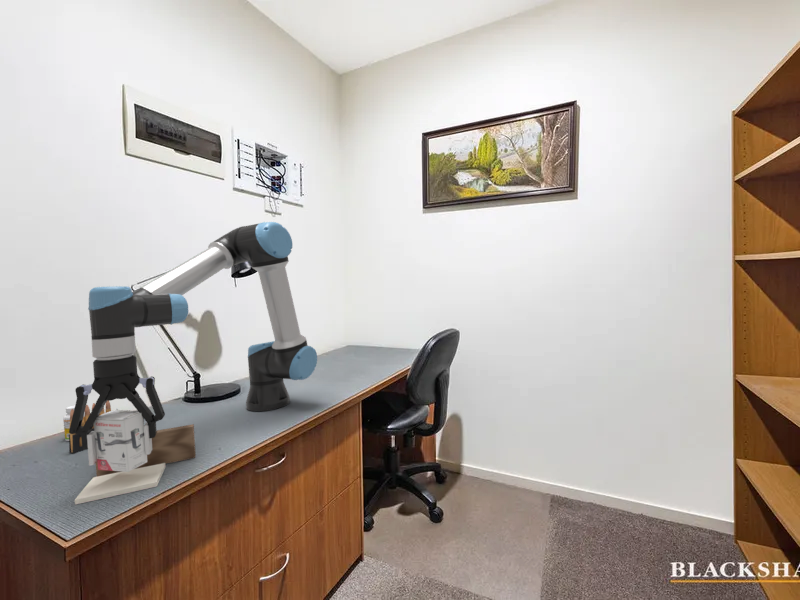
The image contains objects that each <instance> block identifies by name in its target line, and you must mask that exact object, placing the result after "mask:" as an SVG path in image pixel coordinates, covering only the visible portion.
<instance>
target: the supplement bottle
mask: <svg viewBox="0 0 800 600" xmlns="http://www.w3.org/2000/svg"><path fill="white" fill-rule="evenodd" d="M71 409H73V410H74V409H75V404H74V405H70V406H66V407H65V413H66V414H64V415H63V430H64V432H63V433H64V439H65V440H64V441H65V442H69V434H70V433H69V429H70V427H69V425H70V412H71ZM84 420H85V412H84Z"/></svg>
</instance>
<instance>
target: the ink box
mask: <svg viewBox="0 0 800 600" xmlns="http://www.w3.org/2000/svg"><path fill="white" fill-rule="evenodd" d="M144 425H145V419H144V418H143V417H142V415H141V413H139V412H138V410H131V409H130V410H128V409H114V410H111V411H110V412H107V413H106V412H105V413H104V414H102V415H100V416H98V417H97V418H96V420H95V422H94V432H95V443H96V453H97V463H98V470H109V471H123V472H129V471H131V470H133V469H135V468H137V467H139V466H141V465H143V464H145V463H147V455H146V452H145V437H144Z"/></svg>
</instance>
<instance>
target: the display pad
mask: <svg viewBox="0 0 800 600" xmlns="http://www.w3.org/2000/svg"><path fill="white" fill-rule="evenodd" d="M165 470H166V464H165V463H162V464H157V465H152V466H147V467H142V468H137V469H133V470H131V471H129V472H123V471H122V472H117V473H112V474H107V475H103V476H98V477H97V476H93V477H91V478H92V479H91V480H89V482H88V483H87V484H86V486H84V488H83V489H82V490H81V491H80V492H79V494H78V495H77V496H76V498H74V505H75V506H76V505H80V504H83V503H88V502H93V501H98V500H101V499H107V498H111V497H115V496H119V495H124V494H129V493H134V492H138V491H142V490H147V489H151V488H155V487H158V484H159V483H160V481H161V478H162V476H163V474H164V471H165Z"/></svg>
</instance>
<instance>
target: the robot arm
mask: <svg viewBox="0 0 800 600" xmlns="http://www.w3.org/2000/svg"><path fill="white" fill-rule="evenodd" d="M292 249H293V239H292V236H291V234H290V232H289V231H288V229H287V228H286V227H284V226H283V225H282V224H281V223H279V222H275V221H266V222H265V221H263V222H259V223H255V224H250V225H243V226H242V225H241V226H239V227H237V228H234V229H232V230H230V231H228V232H227V233H225V234H224V235H222V236H220V237H219V238H217V239H215V240H214V241H212V242H210V243H209V244H208V246H207V248H206V249H204V250H203V251H201V252H200V253H197V255H194V256H193V257H191V258H189V259H188V260H186V261H184V262H182V263H180V264H179V265H177V266H175V267H173V268H172V269H170V270H169V271H167V272H165V273H163V274H161V275H160V276H158V277H155V278H154V279H153V280H151V281H150V282H148V283H145V284H144V285H143V286H140V287H139V288H138V289H136V290H133V291H132V288H131V287H130V286H123V285H122V286H120V285H119V286H117V285H116V286H114V285H113V286H96V287H93V288H91V289H90V290H89V292H88V309H87V310H88V312H89V323H90V331H91V332H90V333H91V336H90V337H91V353H92V354H91V355H92V358H95V360H94V361H92V366H93V378H94V379H93V382H92V383H91V384H90V383H89V384H81V385H79V386H77V387H76V388H75V391H74V392H75V395H76V401H75V404H74V405H75V409H74V413H73V417H72V421H71V425H70V429H69V433H70V434H80V435H81V439H82V448H83V451H86V450H87V455H88V456H87V457H88V466H90V467H91V466H94V465H96V462H97V453H96V443H95V432H94V431H91V430H92V427H93V425H94V422H95V420H96V418H97V417H98V416H99V414H100V413H101V411H102V409H103V407H104V408H105V406H106V402H107V400H108V401H109V402H110V401H114V400H124V399H126V400H128V402H130V403H131V404H132V406H134V408H135V409H136V411H138V412H139V413H141V415H142V417H143V418H144V422H146V423H144V437H145V452H146V455H149V454H150V453H151V451H152V438H154V437H155V436H156V433H157V422H159V421H162V420H163V419H164V417H165V415H166V413H165V410H164V406H163V405H162V402H161V400H160V397H159V394H158V392H157V390H156V386H155V384H156V383H155V381H156V378H155V377H154V376H149V377H140V376H139V373H138V364H137V363H138V362H137V356H136V355H135V353H136V352H137V348H136V347H137V346H136V336H135V335H136V334H135V333H136V332H135V328H141V327H142V328H143V327H152V326H153V327H154V326H155V327H156V326H164V325H173V324H179V323H183V322H184V321H185V320H186V319H187V317H188V315H189V303H188V301H187V299H186V297H185V296H184V295H185V294H187V293H188V292H190V291H191V290H192V289H195V288H196V287H197V286H199V285H200V284H201V283H203V282H205V281H206V280H208V279H210V278H211V277H212V276H214V275H216V274H217V273H219V272H220V271H223V269H225V270H228V269H231V268H232V267H234V266H236V265H238V264H241V263H246V262H250V264H251V268H252V269H253V270H255V271H257V273H258V277H259V280H260V284H261V288H262V292H263V293H262V294H263V297H264V300H265V304H266V309H267V313H268V317H269V321H270V324H271V326H270V327H271V328H272V334H273V338H274V340H273V341H266V342H262V343H257V344H252V345H250V346H249V347H248V348H247V354H248V355H247V363H248V376H249V389H248V394H247V395H246V396H247V397H246V401H245V408H246V410H247V411H251V412H267V411H272V410H276V409H279V408H284V407H285V406H288V405H289V404H290V403H291V401H290V394H289V392H288V389H287V387H286V384H285V382H284V381H285V380H292V381H298V380H299V381H303V380H306V379H308V378H309V377H311V375H312V374H313V373H314V371H315V369H316V367H317V364H318V355H317V351H316V349H315V348H314V347H313V346H311V345H308V342H307V341H308V340H307V338H306V336H304V335H303V334H301V330H300V327H299V326H300V325H299V322H298V316H297V313H296V308H295V304H294V300H293V294H292V291H291V287H290V283H289V277H288V273H287V268H286V266H287V265H288V264H289V261H290V260H289V257H288V256H290V254H291V253H292ZM284 379H285V380H284ZM139 384H141V385H142V387H143V389H144V388H145V391H146V394H147V398H148V400H149V402H150V404H151V407H152V410H153V412H152V410H151V409H150V408H149V407H148V405H147V404H146V403H145V401H144V400H143V398H142V397H141V396H140V394H139V393H138V391H137V390H136V388H137V387H138V386H139ZM92 390H93V391H95V392H96V393H97V394H98V395H99V396H98V398H97V400H96V402H95V406H94V408H93V410H92V409H91V411H90V415H89V417H88V419H87V421H86V423H85V424H84V426H81V425H82V421H83V417H84V412H85V408H86V405H88V400H89V399H88V398H89V395H90V394H91V393H92Z"/></svg>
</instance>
